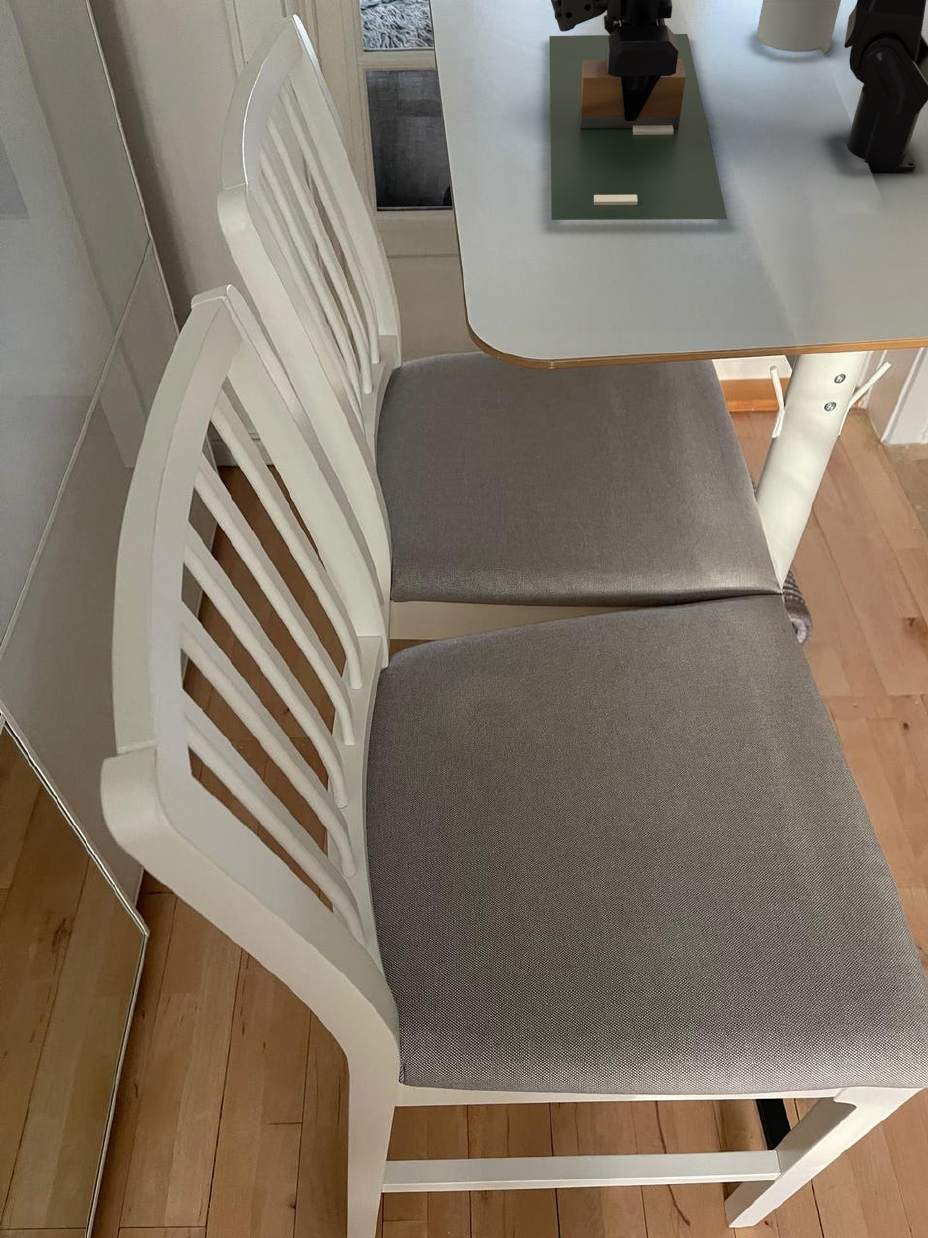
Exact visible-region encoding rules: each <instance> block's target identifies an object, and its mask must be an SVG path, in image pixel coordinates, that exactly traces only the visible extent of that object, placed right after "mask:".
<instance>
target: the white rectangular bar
mask: <svg viewBox="0 0 928 1238" xmlns="http://www.w3.org/2000/svg"><path fill="white" fill-rule="evenodd" d="M637 203H638V200H637V195H594V205H637Z"/></svg>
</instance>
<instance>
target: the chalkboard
mask: <svg viewBox="0 0 928 1238" xmlns="http://www.w3.org/2000/svg"><path fill="white" fill-rule="evenodd" d="M674 35H675V36H676V41H677V46H678V59H682V60H683V65H684V71H685V76H686V79H685V86H684V93H683V100H682V107H681V115H680V121H679V128H673V130H674V132H673V135H633V128H595V129H581V128H580V111H579V110H580V93H581V76H582V61H583V60H607V55H606V50H607V45H608V37H609V36H610V34H593V35H592V34H588V35H586V34H585V35H583V34H582V35H549V36H548V37H549V40H548V41H549V117H550V119H549V121H550V122H549V123H550V124H549V125H550V128H549V131H550V207H551V208H550V213H551V214H550V218H551V221H616V220H617V221H618V220H619V221H620V220H621V221H623V220H624V221H626V220H628V221H631V220H632V221H633V220H636V221H637V220H642V221H643V220H645V221H647V220H649V221H650V220H728V216H727V211H726V207H725V203H724V198H723V193H722V189H721V184H720V179H719V175H718V170H717V166H716V161H715V156H714V152H713V147H712V142H711V137H710V133H709V132H710V131H709V128H708V124H707V119H706V114H705V110H704V106H703V100H702V96H701V90H700V86H699V81H698V76H697V72H696V68H695V67H696V66H695V63H694V57H693V53H692V48H691V45H690V39H689V36H688V35H689V34H688V33H674ZM594 195H637V200H638V203H637V205H594Z"/></svg>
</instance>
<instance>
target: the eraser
mask: <svg viewBox="0 0 928 1238" xmlns="http://www.w3.org/2000/svg"><path fill="white" fill-rule="evenodd" d="M685 79H686V76H685V71H684V65H683V60H682V59H677V67H676V73H675V74H673V75H671V76H661V77H660V79H659V80H658V82H657V84H656V85H655V87H654V89H653V91H652V92H651V94H650V96H649V98H648V100H647V101H646V103H645V105H644V107H643V109H642V110H641V112H640V114H639V116H638V118H637V120H636V121H625V115H624V104H623V93H622V82H621V77H614V76H611V75H609V74H608V71H607V60H583V61H582V76H581V93H580V110H579V111H580V128H581V129H595V128H633V126H642V125H673V128H679V121H680V115H681V107H682V100H683V93H684V86H685Z"/></svg>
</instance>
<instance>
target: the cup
mask: <svg viewBox="0 0 928 1238" xmlns="http://www.w3.org/2000/svg"><path fill="white" fill-rule="evenodd" d="M841 2H842V0H762V3H761V9H760V14H759V20H758V24H757V30H756V39H758V41H759V42H761V43H762V44H763V45H764V46H767V47H770V48H772V49H775V50H779V51H785V52H793V53H798V52H799V53H801V52H812V51H816V50H821V52H822V55H825V54H826V53H828V52H829V50H830V48H831V47H830V46H831V43H832V39H833V35H834V30H835V28H836V22H837V18H838V14H839V10H840V5H841Z"/></svg>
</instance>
